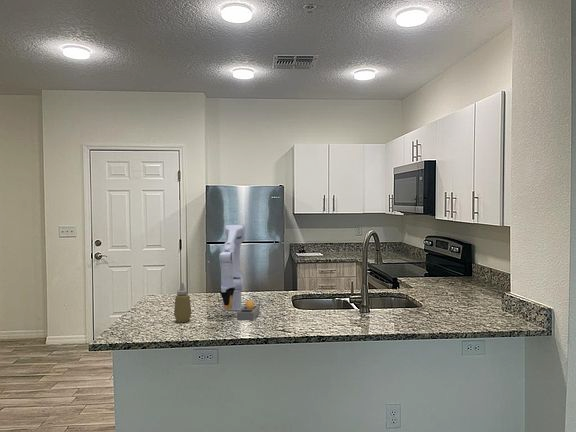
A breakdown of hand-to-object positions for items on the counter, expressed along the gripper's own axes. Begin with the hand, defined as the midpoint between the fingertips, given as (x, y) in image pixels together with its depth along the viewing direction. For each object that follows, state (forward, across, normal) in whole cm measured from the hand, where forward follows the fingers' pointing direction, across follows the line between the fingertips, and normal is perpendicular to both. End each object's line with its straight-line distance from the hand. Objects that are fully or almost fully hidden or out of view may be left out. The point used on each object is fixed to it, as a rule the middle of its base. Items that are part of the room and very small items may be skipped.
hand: (227, 304), depth 222 cm
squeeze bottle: (+6, -10, +19) cm, 22 cm away
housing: (+6, +1, -10) cm, 12 cm away
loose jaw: (+2, 0, 0) cm, 2 cm away
